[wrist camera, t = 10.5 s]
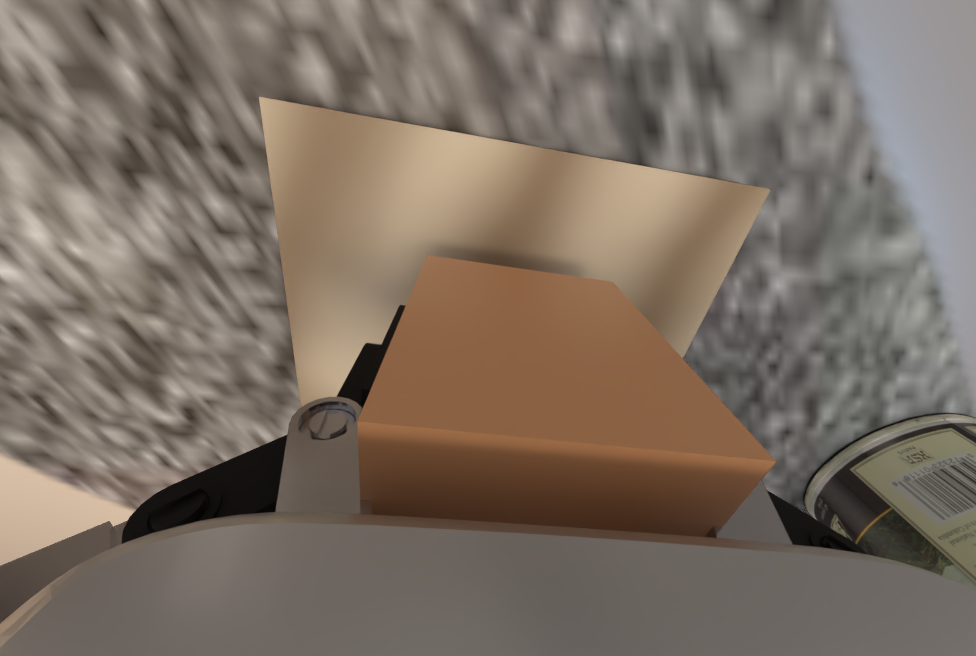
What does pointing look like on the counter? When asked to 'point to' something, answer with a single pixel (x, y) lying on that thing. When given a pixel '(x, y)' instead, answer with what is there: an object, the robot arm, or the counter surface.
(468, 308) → the orange block
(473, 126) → the counter surface
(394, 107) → the counter surface
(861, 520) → the coffee can
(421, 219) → the post stand
